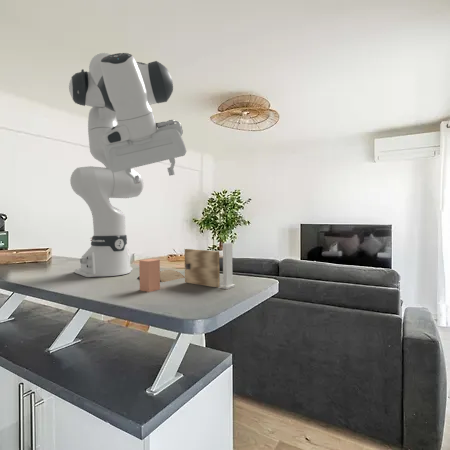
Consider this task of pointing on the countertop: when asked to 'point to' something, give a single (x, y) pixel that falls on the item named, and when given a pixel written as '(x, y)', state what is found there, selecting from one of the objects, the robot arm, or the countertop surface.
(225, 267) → the wall post
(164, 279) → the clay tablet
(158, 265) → the block
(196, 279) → the oak door
